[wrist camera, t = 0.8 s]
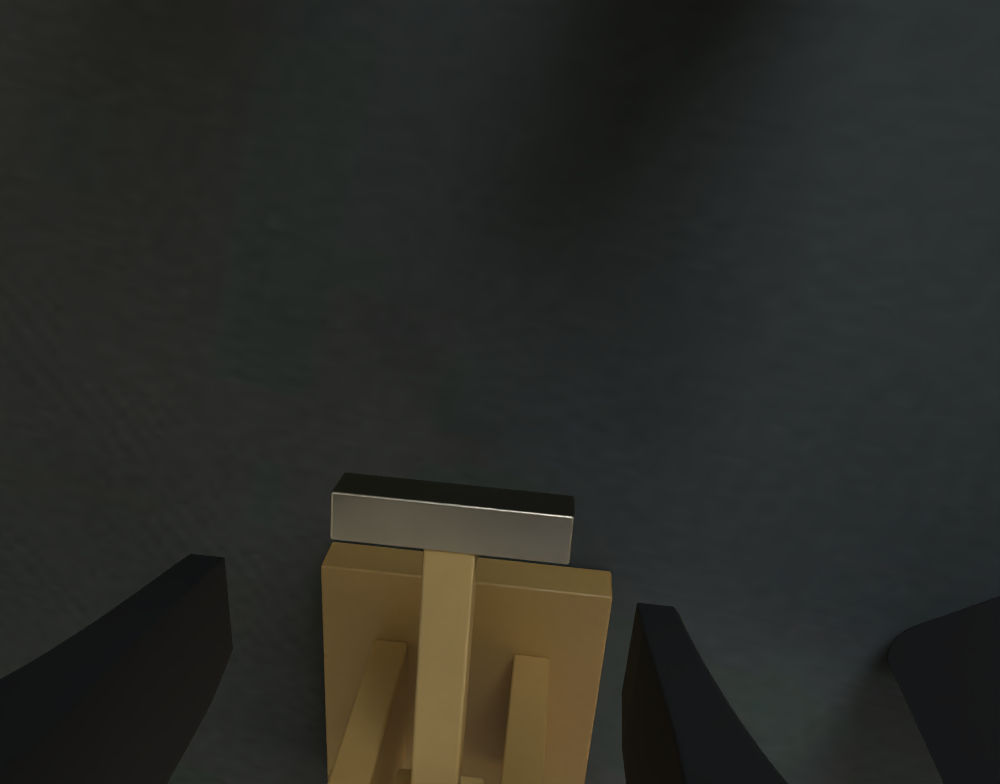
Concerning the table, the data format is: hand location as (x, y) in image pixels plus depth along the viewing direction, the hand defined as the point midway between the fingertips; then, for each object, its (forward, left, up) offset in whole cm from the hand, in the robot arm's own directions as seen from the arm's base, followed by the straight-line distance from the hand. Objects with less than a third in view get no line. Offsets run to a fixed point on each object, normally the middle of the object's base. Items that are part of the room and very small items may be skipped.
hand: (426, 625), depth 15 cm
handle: (-5, +1, -4) cm, 6 cm away
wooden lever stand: (-9, +2, -8) cm, 12 cm away
